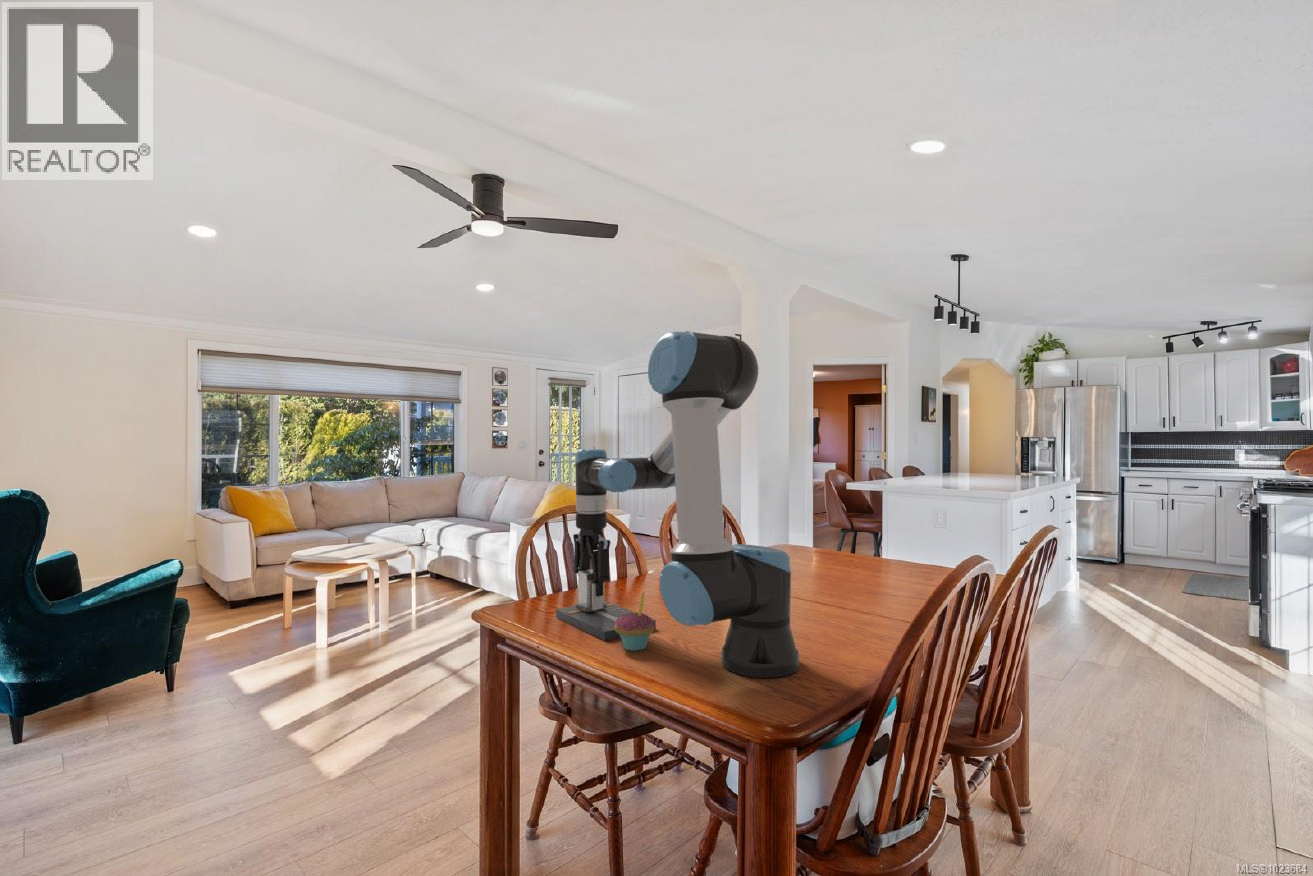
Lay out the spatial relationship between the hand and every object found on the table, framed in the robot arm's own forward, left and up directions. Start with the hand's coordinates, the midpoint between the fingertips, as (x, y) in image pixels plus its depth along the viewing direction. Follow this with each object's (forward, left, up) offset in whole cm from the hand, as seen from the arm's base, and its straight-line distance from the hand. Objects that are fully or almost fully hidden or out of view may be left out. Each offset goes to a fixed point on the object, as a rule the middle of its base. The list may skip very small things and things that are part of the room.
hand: (591, 606), depth 157 cm
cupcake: (-24, +4, -3) cm, 25 cm away
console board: (-6, 0, -3) cm, 7 cm away
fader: (0, 0, 0) cm, 0 cm away
